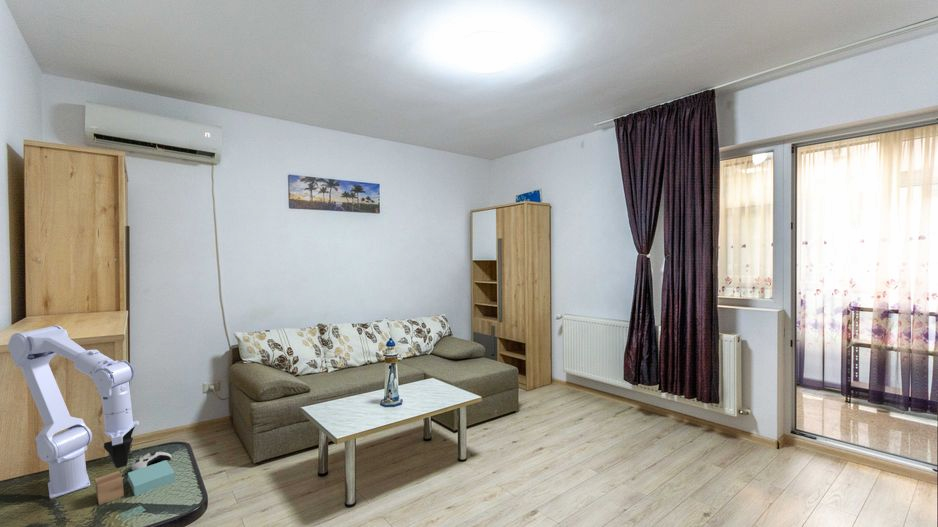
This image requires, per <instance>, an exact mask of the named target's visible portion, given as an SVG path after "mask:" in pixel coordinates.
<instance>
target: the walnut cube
mask: <svg viewBox="0 0 938 527" xmlns="http://www.w3.org/2000/svg"><path fill="white" fill-rule="evenodd" d="M123 480H124V479H123V476H122V474H121V472H120V470H117V471H115V472H112V473H108V474H106V475H102V476H99V477H97V478H94V483H95V484H94V485H95V495H96V496H97V497H96V500H97V503H98V505H99V506H101V505H103V504H106V503H109V502H111V501H114V500H117V499H120V498H123V497H124V496H125V494H124V493H125V492H124V481H123ZM122 496H123V497H122Z"/></svg>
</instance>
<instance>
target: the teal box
mask: <svg viewBox="0 0 938 527" xmlns="http://www.w3.org/2000/svg"><path fill="white" fill-rule="evenodd" d="M175 476H176V475H175V471H174V470H173V468H172V466H171V465H170V463H169V461H167V460H165V461H159V462H157V463H154V464H149V465H147V467H144V468H141V469H138V470H135V471H132V470H131V471H129V472H127V480H128V481H127V483H128V484H129V486H130V489H131V491H132V493H133V495H134V496H135V497H136V496H139V495H141V494H145V493H147V492H151V491H152V490H155V489H158V488H160V487H163V486H165V485H168V484H171V483H174V482H176V477H175Z"/></svg>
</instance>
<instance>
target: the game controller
mask: <svg viewBox="0 0 938 527" xmlns="http://www.w3.org/2000/svg"><path fill="white" fill-rule="evenodd" d="M171 458H172V454H170V453H168V452H165V451H163V452H162V451H154V452H148V453H146V454H145V455H143V456H142V457H140V458H138V459H135V461H133V462H132V463H131V466H130V467H131V472H132V471H135V470H138V469H141V468H144V467H147V466H149V465H151V464H152V463H153V462H155V461H158V460H159V462H162V461H165V460H170V461H171V460H172V459H171Z"/></svg>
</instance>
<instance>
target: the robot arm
mask: <svg viewBox="0 0 938 527" xmlns="http://www.w3.org/2000/svg"><path fill="white" fill-rule="evenodd" d="M7 349H8V351H9V353H10V356H11V358H12V361H13V362H14V365H15V366H16V367H19V368H20V370H21V372H22V374H23V377H24V379H25V382H26V385H27V386H28V389H29V392H30V394H31V397H32V398H33V401H34V403H35V406H36V408H37V411H38V413H39V415H40V418H41V420H42V422H43V425H44V427H42V429H41V430H40V432H39V433H38V434H37V435H36V437H35V439H34V440H35V442H36V453H37V456H38V458H39V459H40V460H42V461H43V462H45V463H48V472H49V482H47V487H48V494H49V495H48V496H49V499H50V500H51V499H55V498H57V497H62V496H64V495H68V494H70V493H73V492H76V491H79V490H82V489H85V488H88V487H90V486H91V482H90V478H89V474H88V471H87V465H86V464H87V463H86V454H85V453H86V452H85V451H87V450H88V446H89V445H90V444H91V443H92V439H93V433H92V431H91V429H90V428H89V427H88V426H87V425H86V423H85V421H84V419H83V418H79V417H73V416H71V414H70V412H69V410H68V407H67V405H66V402H65V400H64V398H63V395H62V393H61V391H60V388H59V386H58V383H57V381H56V379H55V376H54V373H53V371H52V368H51V367H50V362H51V360H52V359H53V358H55V356H57V355H59V356H61V357H63V358H66V359H68V360H69V361H72V362H74V363H73V367H74V368H75V370H78V372H80V373H83V374H84V375H86V376H88V377H90V378H91V379H92V383H93V385H94V386H95V387H96V388H97V393H98V396H99V397H101V404H102V413H103V414H102V415H103V421H104V422H103V423H104V430H103V431H104V432H103V433H104V434H105V435H106V436H107V437H108V438H110V439H111V441H107V442H104V443H103V448H104V450H105V451H106V452H107V453H108V454H109V456H110V458H111V460H112V462H113V464H114V467H115V468H116V469H119V468H123V467H127V466H128V465H127V464H128V460H129V453H130V450H131V444H132V442H133V438H134V437H132V436H133V432H134V430H135V428H136V427H137V426H140V421H139V420H135V421H134V417H133V410H132V409H133V408H132V399H131V398H132V396H131V386H130V382H131V381H132V380H133V379H134V377H135V370H134V367H133V365H132V364H131V363H130V362H128V360H114V359H113V358H110V357H109V356H107V355H104V354H103V353H101V352H100V350H98V349H87V350H86V349H85V348H84V347H82V346H81V345H79V344H78V343H76V341H74V340H72V339H71V338H70V337H69V334H68V331H67V329H65V328H63V327H62V326H60V325H59V324H58V325H57V324H55V325H54V324H53V325H51V326H48V327H42V328H36V329H32V330H28V331H27V330H26V331H23V332H15V333H13V334H12V335H11V336H10V338H9V341H8V344H7ZM66 429H67V430H66ZM63 430H65V431H63Z"/></svg>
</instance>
